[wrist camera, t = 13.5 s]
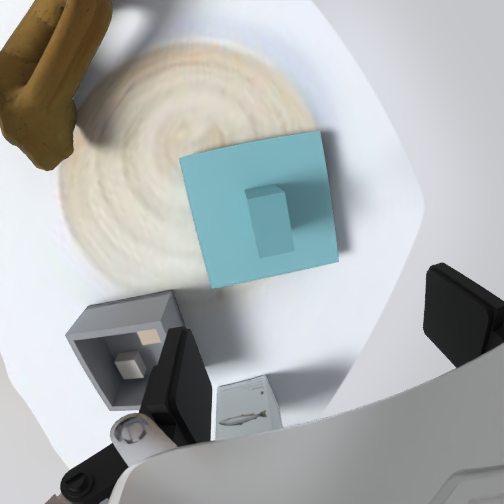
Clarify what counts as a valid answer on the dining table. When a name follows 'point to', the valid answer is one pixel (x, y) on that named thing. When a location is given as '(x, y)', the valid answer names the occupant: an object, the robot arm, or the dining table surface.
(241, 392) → the supplement box
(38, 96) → the brown looped sculpture
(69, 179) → the dining table surface
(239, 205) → the lid
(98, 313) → the tub
